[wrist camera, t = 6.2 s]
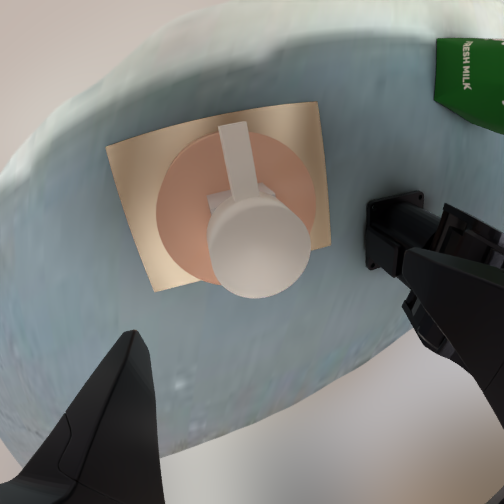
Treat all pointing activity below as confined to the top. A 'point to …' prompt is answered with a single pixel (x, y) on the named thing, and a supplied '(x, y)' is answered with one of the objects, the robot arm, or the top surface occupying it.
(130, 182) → the birch board
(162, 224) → the soap jar
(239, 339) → the top surface
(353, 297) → the top surface
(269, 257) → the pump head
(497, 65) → the milk carton
